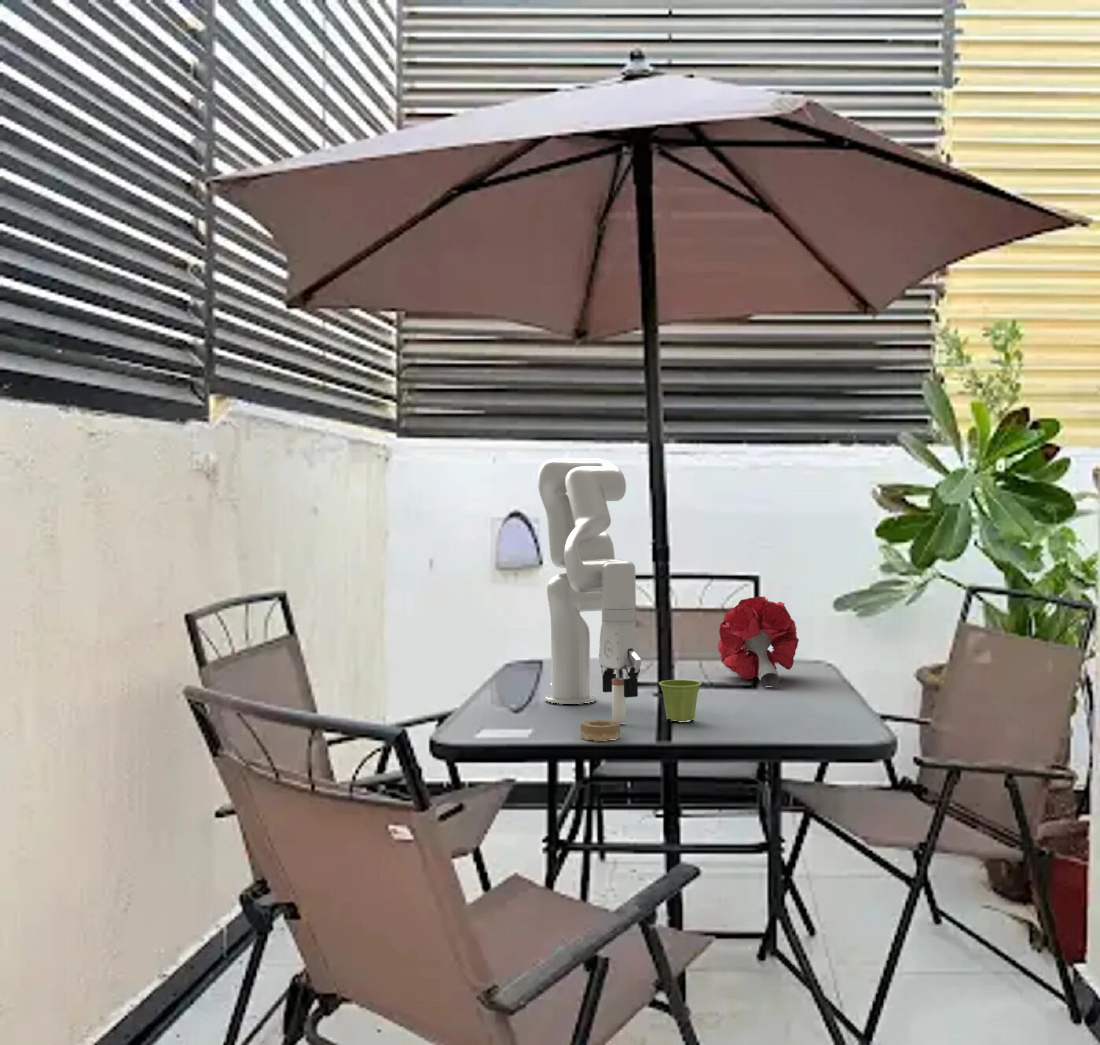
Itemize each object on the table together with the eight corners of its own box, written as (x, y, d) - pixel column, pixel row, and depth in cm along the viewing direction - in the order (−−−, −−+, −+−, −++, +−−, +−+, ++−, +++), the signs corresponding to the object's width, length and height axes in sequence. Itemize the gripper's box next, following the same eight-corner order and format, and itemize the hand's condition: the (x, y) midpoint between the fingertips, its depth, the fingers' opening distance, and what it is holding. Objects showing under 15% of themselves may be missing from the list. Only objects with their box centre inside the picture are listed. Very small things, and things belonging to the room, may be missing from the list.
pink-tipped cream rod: (609, 723, 266) (609, 678, 265) (621, 722, 267) (621, 677, 267) (616, 725, 263) (616, 680, 263) (628, 724, 264) (628, 679, 264)
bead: (576, 736, 251) (576, 722, 251) (607, 733, 254) (607, 719, 254) (592, 742, 244) (592, 728, 244) (624, 739, 247) (624, 725, 247)
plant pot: (668, 726, 262) (668, 686, 262) (653, 718, 271) (652, 680, 271) (708, 723, 265) (707, 684, 265) (691, 716, 274) (691, 678, 274)
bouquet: (810, 710, 320) (788, 643, 345) (814, 639, 308) (791, 575, 333) (730, 716, 320) (714, 648, 346) (730, 645, 308) (713, 581, 334)
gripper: (585, 615, 270) (586, 691, 270) (623, 619, 255) (624, 700, 255) (615, 614, 274) (616, 688, 273) (653, 618, 258) (654, 697, 258)
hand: (619, 694), depth 264 cm, fingers open, 9 cm apart
